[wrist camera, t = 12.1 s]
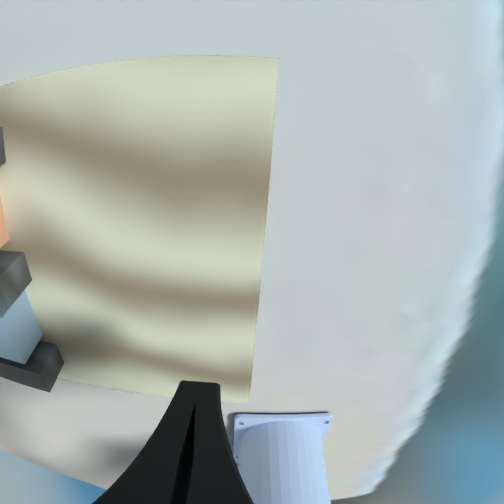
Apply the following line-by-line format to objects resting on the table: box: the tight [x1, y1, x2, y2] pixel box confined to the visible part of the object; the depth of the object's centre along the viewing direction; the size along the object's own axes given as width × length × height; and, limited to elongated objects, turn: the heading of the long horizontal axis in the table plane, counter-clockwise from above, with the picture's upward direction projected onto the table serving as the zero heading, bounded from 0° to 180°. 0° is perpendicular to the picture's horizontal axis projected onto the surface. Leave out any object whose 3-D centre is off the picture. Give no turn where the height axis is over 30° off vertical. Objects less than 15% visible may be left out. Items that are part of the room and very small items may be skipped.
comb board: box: [0, 55, 279, 403], centre depth 15 cm, size 22×22×4 cm
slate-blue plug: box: [0, 289, 43, 364], centre depth 16 cm, size 4×4×3 cm
